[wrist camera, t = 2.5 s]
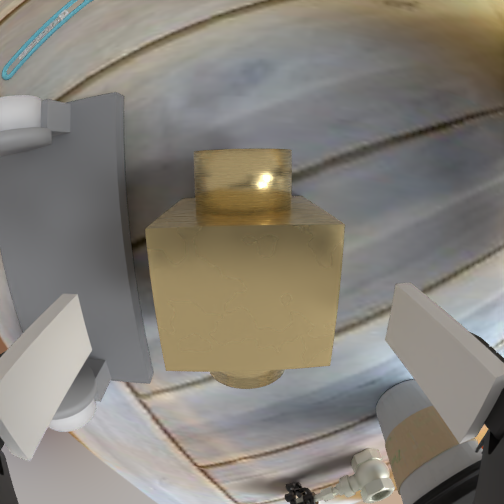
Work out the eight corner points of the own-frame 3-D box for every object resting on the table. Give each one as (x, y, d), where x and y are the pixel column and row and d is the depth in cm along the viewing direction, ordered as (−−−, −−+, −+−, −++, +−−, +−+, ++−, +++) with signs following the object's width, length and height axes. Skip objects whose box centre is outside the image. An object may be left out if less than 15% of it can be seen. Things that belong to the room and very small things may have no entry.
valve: (373, 437, 29) (281, 475, 31) (391, 479, 23) (287, 519, 24) (385, 458, 31) (302, 492, 32) (400, 495, 25) (309, 530, 26)
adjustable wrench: (118, -51, 13) (144, -23, 15) (121, -46, 14) (147, -18, 16) (-8, 60, 15) (7, 96, 16) (-2, 62, 16) (14, 97, 17)
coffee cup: (342, 411, 27) (388, 538, 13) (417, 349, 25) (502, 462, 11) (385, 438, 29) (429, 537, 15) (448, 387, 28) (513, 477, 13)
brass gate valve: (302, 151, 20) (346, 149, 11) (296, 326, 24) (322, 406, 15) (181, 153, 20) (140, 153, 11) (193, 329, 24) (175, 411, 15)
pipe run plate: (123, 96, 18) (54, 65, 9) (153, 372, 25) (127, 454, 16) (0, 126, 18) (-79, 128, 9) (43, 360, 24) (-1, 421, 15)
